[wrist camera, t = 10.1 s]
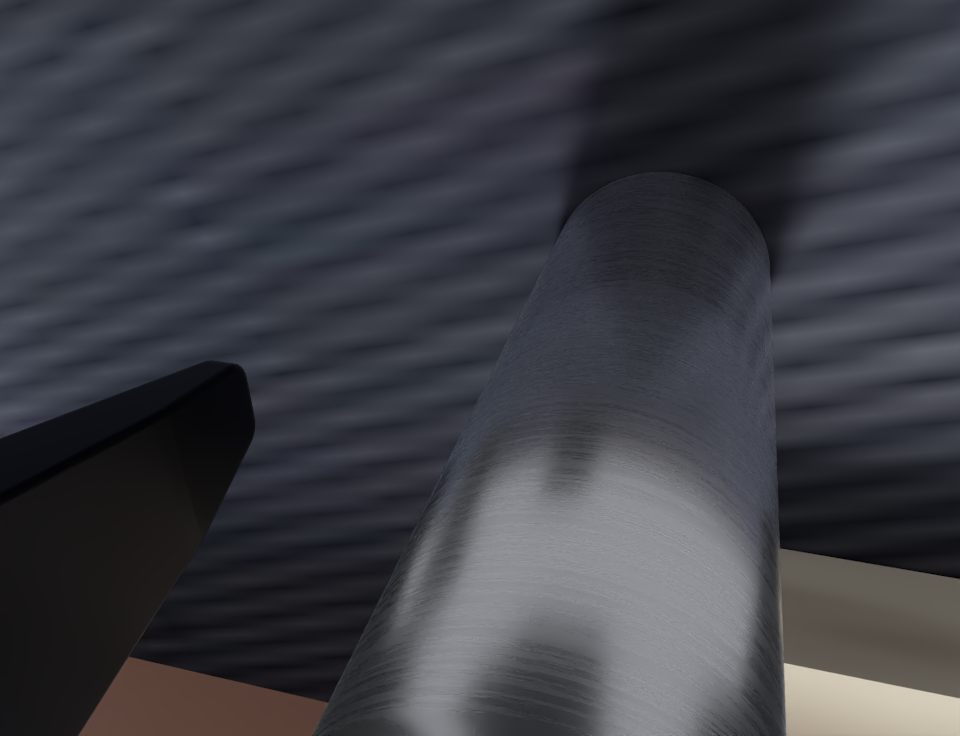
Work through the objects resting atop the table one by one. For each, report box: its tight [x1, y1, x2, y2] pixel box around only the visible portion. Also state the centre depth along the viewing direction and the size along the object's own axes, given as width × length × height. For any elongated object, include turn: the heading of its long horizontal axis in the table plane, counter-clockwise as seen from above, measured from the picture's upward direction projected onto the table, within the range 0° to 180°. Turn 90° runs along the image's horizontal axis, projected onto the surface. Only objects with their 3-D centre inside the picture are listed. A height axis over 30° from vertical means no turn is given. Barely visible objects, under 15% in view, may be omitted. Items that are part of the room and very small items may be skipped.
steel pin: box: [312, 172, 787, 736], centre depth 9 cm, size 3×3×9 cm
